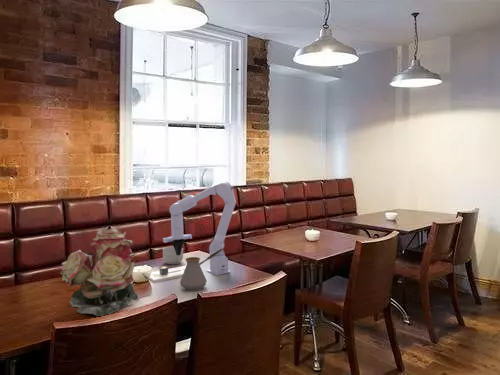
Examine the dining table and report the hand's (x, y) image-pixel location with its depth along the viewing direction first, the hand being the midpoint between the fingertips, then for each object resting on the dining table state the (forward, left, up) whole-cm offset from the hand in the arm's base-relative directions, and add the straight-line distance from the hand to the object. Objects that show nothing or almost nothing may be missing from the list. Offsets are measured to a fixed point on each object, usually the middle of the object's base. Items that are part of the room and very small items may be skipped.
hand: (178, 254), depth 201 cm
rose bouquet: (-22, +41, -9) cm, 48 cm away
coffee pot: (-26, +1, -9) cm, 28 cm away
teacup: (+14, -4, -9) cm, 17 cm away
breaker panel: (-3, +6, -8) cm, 10 cm away
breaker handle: (-3, +9, -7) cm, 12 cm away
